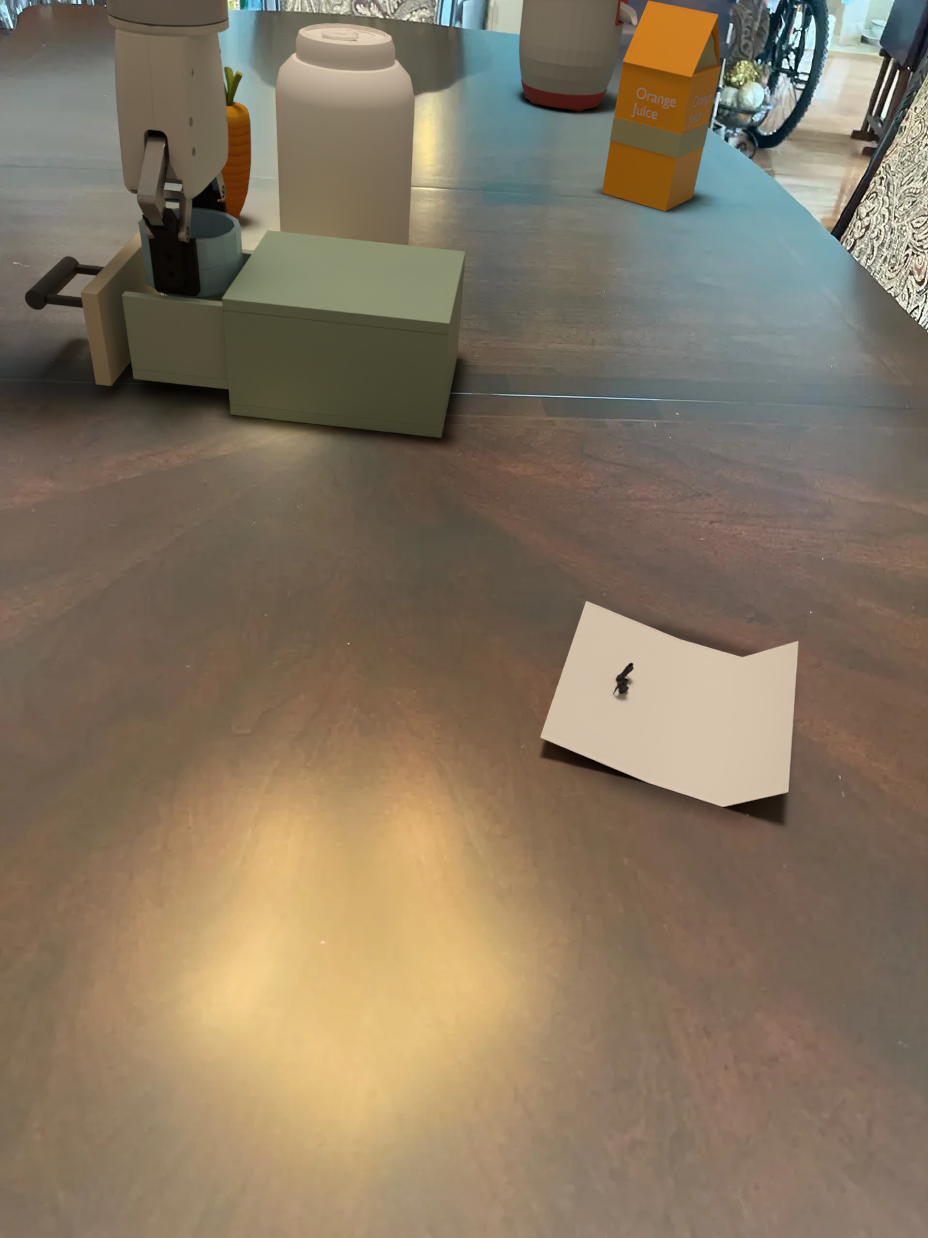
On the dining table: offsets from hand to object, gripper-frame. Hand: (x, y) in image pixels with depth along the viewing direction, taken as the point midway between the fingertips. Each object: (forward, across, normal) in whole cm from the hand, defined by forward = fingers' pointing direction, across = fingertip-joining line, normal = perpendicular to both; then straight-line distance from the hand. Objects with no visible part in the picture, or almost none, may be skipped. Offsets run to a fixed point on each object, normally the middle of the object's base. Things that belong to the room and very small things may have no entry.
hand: (193, 270), depth 76 cm
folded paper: (+8, +33, +35) cm, 49 cm away
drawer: (+7, 0, -2) cm, 7 cm away
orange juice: (+8, -57, +39) cm, 69 cm away
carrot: (+8, -33, -6) cm, 34 cm away
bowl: (+1, 0, 0) cm, 1 cm away
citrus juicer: (+8, -99, +29) cm, 103 cm away
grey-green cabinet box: (+8, 0, +12) cm, 14 cm away
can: (+8, -26, +7) cm, 28 cm away
